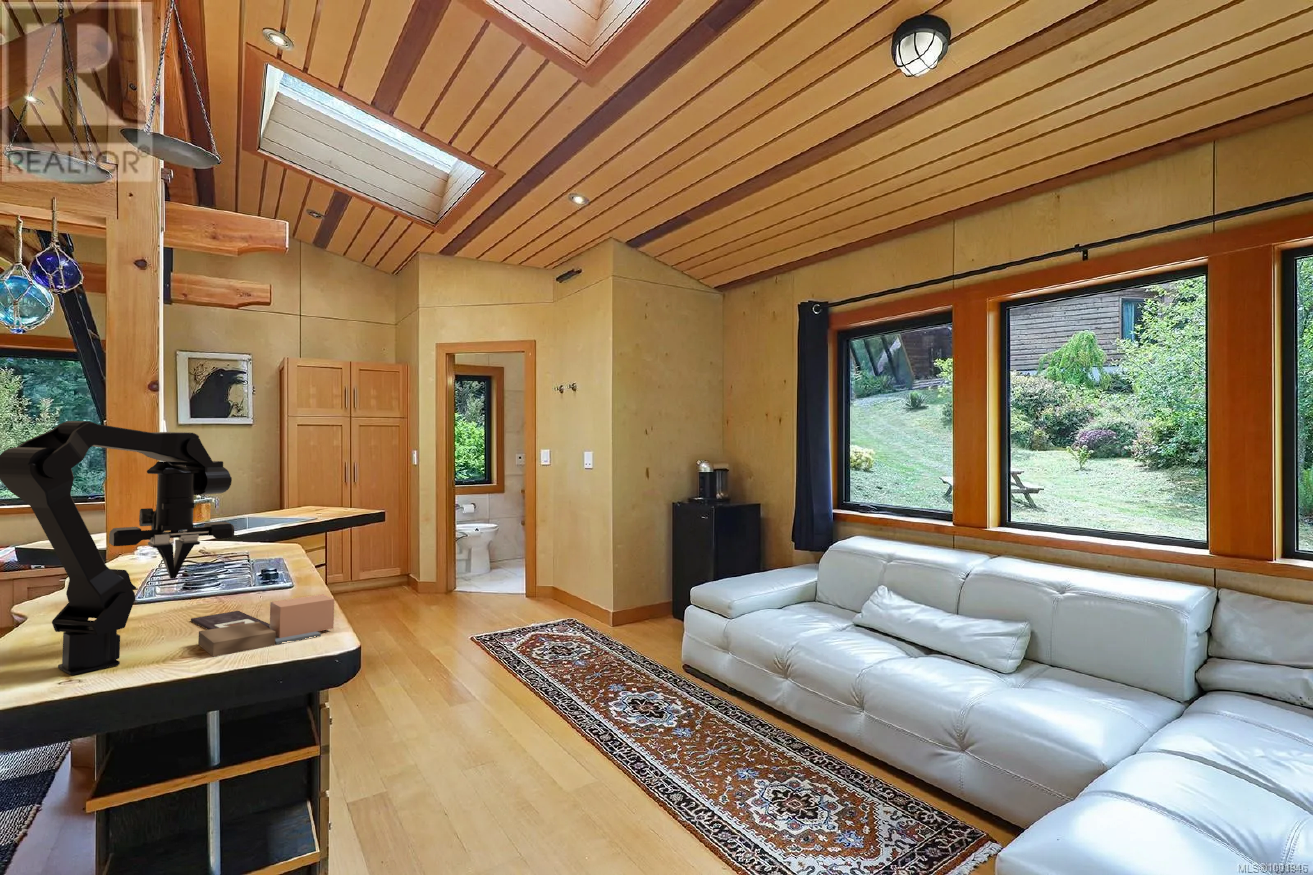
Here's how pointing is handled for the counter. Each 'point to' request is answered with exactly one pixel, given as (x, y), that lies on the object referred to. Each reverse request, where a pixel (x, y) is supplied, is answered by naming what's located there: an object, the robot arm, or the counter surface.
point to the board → (236, 638)
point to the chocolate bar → (226, 620)
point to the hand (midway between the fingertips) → (172, 578)
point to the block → (301, 615)
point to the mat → (296, 637)
